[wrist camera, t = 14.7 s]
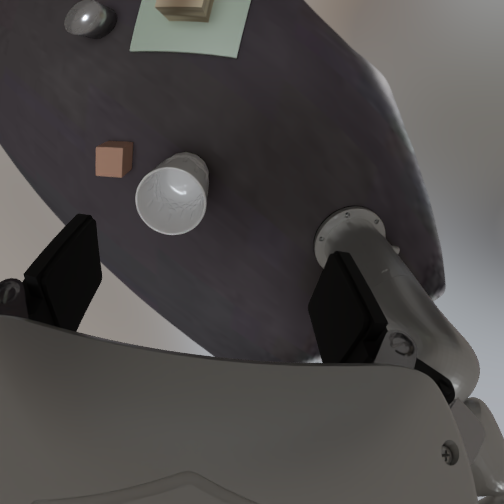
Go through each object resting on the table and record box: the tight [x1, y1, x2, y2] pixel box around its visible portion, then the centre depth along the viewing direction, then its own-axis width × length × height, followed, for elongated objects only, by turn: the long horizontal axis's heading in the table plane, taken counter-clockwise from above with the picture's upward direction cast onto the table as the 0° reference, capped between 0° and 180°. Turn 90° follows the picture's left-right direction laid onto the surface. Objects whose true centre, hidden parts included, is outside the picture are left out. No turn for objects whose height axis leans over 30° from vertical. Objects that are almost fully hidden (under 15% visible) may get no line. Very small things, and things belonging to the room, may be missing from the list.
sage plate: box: [130, 0, 251, 59], centre depth 23 cm, size 14×14×1 cm
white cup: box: [135, 152, 209, 235], centre depth 32 cm, size 8×8×10 cm
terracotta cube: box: [96, 141, 133, 178], centre depth 32 cm, size 4×4×4 cm
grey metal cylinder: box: [65, 0, 117, 39], centre depth 20 cm, size 5×5×6 cm
